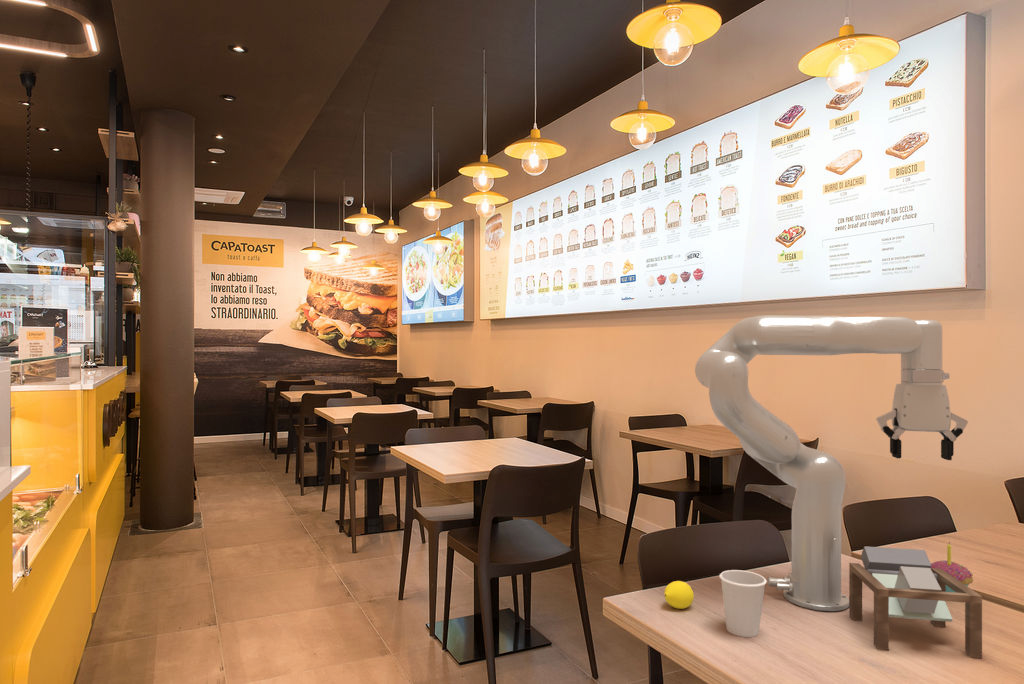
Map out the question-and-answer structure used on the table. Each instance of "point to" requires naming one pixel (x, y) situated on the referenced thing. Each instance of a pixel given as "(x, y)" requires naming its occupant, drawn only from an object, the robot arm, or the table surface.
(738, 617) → the dixie cup
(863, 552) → the trapdoor
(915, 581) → the stone
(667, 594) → the lemon
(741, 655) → the table surface
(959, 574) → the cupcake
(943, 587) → the stand
